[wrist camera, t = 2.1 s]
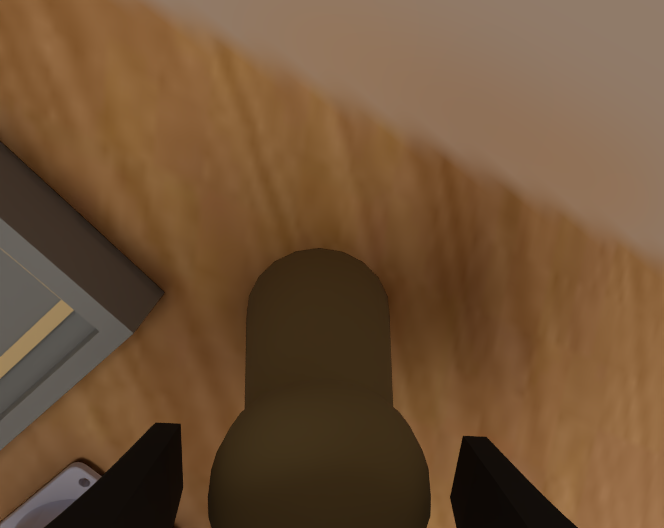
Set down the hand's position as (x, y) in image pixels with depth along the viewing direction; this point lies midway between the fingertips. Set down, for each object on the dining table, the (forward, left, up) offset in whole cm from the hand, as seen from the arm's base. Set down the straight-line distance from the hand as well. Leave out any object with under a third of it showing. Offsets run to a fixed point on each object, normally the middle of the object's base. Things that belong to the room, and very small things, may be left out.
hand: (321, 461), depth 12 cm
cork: (0, 0, -9) cm, 9 cm away
